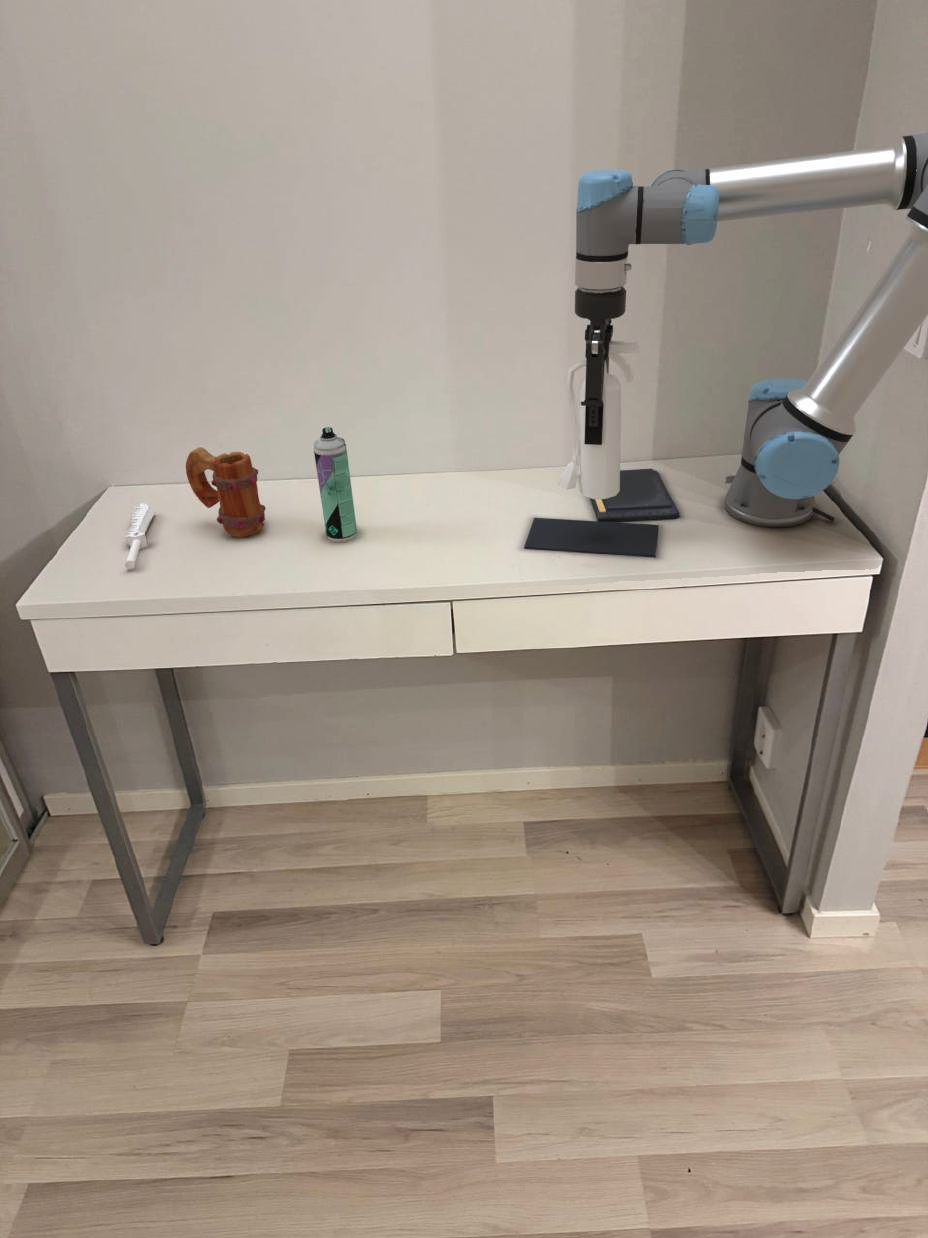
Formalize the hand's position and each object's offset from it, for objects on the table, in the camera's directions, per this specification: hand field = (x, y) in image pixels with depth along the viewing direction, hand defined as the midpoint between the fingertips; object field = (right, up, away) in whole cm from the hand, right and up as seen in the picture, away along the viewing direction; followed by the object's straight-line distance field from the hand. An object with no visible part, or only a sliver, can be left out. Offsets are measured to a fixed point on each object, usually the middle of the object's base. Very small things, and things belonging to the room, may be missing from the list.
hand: (595, 435), depth 146 cm
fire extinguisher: (0, -8, +5) cm, 10 cm away
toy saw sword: (-80, -16, +17) cm, 83 cm away
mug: (-64, -13, +20) cm, 68 cm away
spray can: (-43, -15, +15) cm, 48 cm away
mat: (+1, -16, +10) cm, 19 cm away
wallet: (+10, -7, +23) cm, 26 cm away
